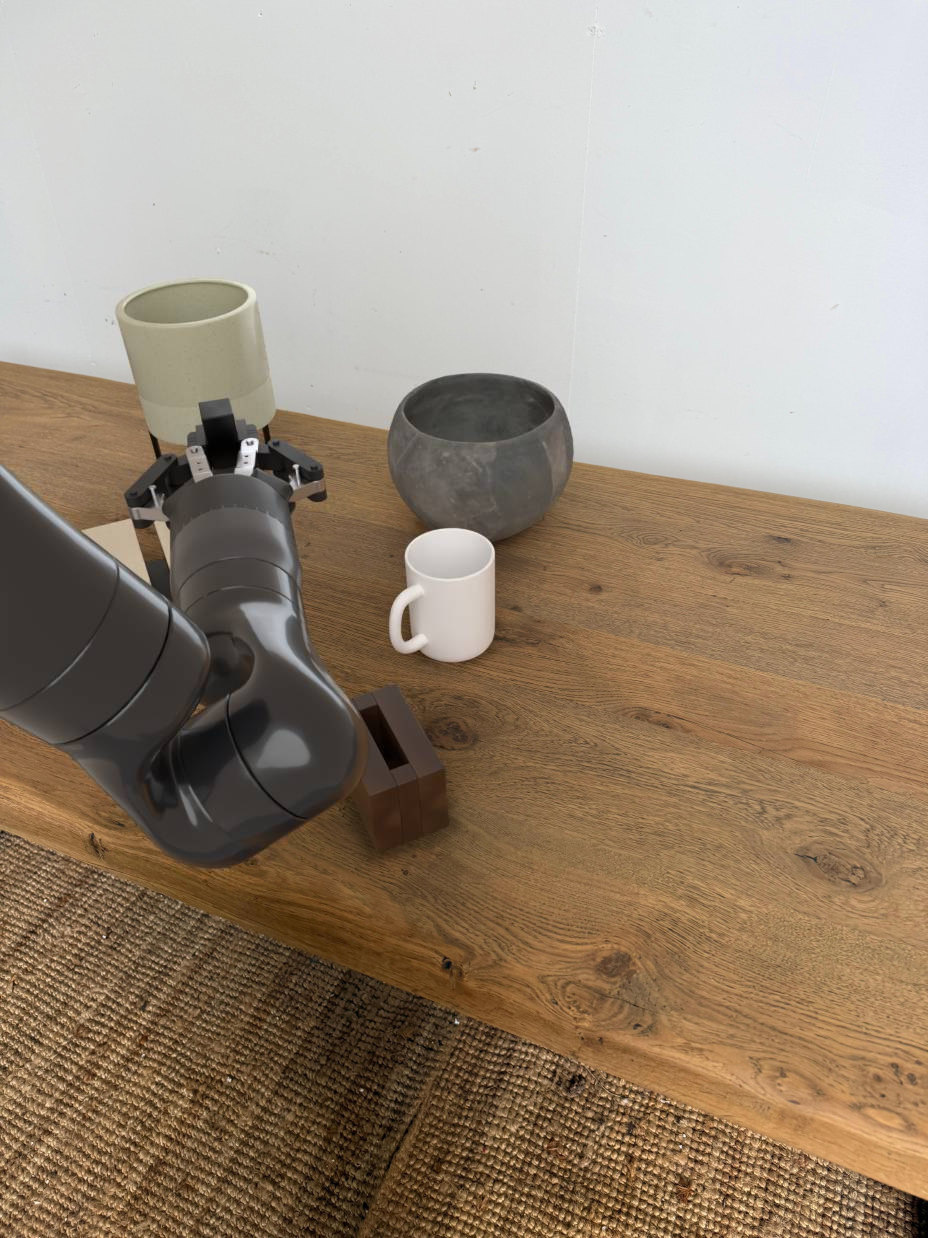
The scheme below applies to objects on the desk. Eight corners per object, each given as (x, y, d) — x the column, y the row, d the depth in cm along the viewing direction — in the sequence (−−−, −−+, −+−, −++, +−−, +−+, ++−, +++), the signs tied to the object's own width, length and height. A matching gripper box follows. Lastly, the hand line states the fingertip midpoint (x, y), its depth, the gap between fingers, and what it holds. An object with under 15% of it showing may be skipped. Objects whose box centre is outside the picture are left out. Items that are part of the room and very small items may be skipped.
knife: (246, 613, 68) (203, 429, 58) (238, 570, 73) (196, 392, 62) (274, 607, 69) (236, 424, 58) (264, 565, 73) (227, 387, 63)
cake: (100, 679, 82) (73, 614, 77) (82, 587, 93) (57, 525, 88) (264, 630, 87) (250, 566, 82) (228, 548, 98) (213, 488, 93)
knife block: (377, 854, 66) (368, 796, 62) (336, 764, 73) (325, 706, 69) (448, 826, 68) (445, 767, 64) (401, 741, 75) (396, 683, 71)
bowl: (358, 520, 102) (344, 402, 93) (485, 460, 112) (484, 349, 103) (473, 598, 90) (470, 472, 81) (603, 523, 101) (615, 403, 91)
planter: (181, 452, 116) (135, 277, 101) (297, 452, 115) (269, 276, 101) (144, 514, 104) (86, 326, 90) (274, 514, 104) (237, 325, 89)
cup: (512, 634, 86) (513, 550, 79) (425, 697, 79) (419, 612, 73) (452, 599, 90) (449, 517, 84) (366, 657, 84) (355, 573, 77)
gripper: (343, 492, 51) (308, 373, 64) (97, 529, 48) (112, 398, 61) (356, 592, 56) (321, 463, 69) (132, 631, 53) (140, 489, 66)
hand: (222, 433), depth 65 cm, fingers closed on knife, 2 cm apart
